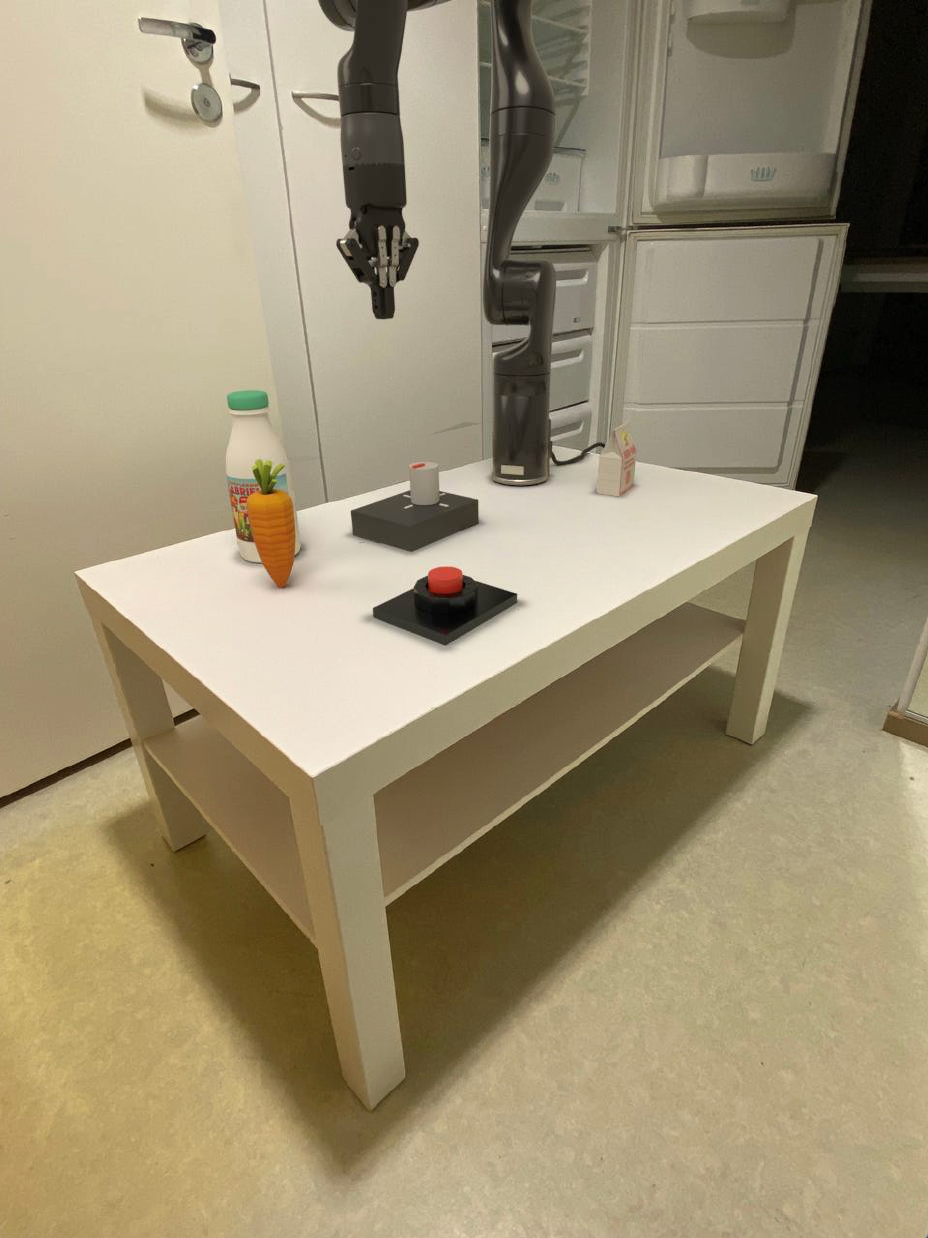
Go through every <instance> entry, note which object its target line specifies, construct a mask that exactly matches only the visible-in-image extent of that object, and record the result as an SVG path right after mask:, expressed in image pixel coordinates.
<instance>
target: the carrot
mask: <svg viewBox="0 0 928 1238" xmlns="http://www.w3.org/2000/svg"><path fill="white" fill-rule="evenodd" d="M255 464H256V465H255V466H253V467H252V471H253V474H254V476H255V479H256V480H257V482H258V484H259V486H260V488H261V490H259V491H257V492H255V493H253V494H251V495H250V496H249V497H248V498H247V501H246V506H247V512H248V517H249V522H250V527H251V531H252V536H253V539H254V542H255V545H256V548H257V551H258V554H259V556H260V559H261V561H262V563H261V564H262V566H263V567H264V569H265V571H266V572H267V574H268V577H270V578H271V580H272V581H273V583H274V584H275V585H276V587H278V588H279V589H283V588H284V587H285V586H286V585H287V584H288V581H289V579H290V577H291V574H292V571H293V567H294V563H295V556H296V555H295V539H296V535H295V521H294V511H293V503H292V500H291V497H290V496H289V495H288V494H287V493H286V492H284V491H283V490H279V489H273V487H274V486H275V484H276V483H277V481H278V480H276V479H275V478H276V476H277V474H278V473H279V471H281V470H282V469H283V468H284V465H283V464H279V465H278V466H277V467H276V468H275V469H274V471H273V472H272V474H270V472H271V468H272V462H271V461H270V460H266V461H265V464H264V465H263V462H262V460H261V459H258V460H256V461H255Z"/></svg>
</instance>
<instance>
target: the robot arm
mask: <svg viewBox="0 0 928 1238" xmlns="http://www.w3.org/2000/svg"><path fill="white" fill-rule="evenodd" d="M451 1H452V0H317V2H318V5H319V7H320V10H321V12H322V14H323V15H324V16H325V17H326V19H327V20H328V21H329V22H330V23H331V24H332V25H333V26H334V27H336V28H337V29H339V30H342V31H345V32H350V33H351V32H353V39H352V43H351V46H350V48H349V49H348V50H347V51H346V52H345V53H344V54H343V55H342V57H341V58H340V59H339V61H338V64H337V69H336V78H337V79H336V80H337V81H336V82H337V93H338V104H339V115H340V137H339V138H340V150H341V151H340V152H341V164H342V166H341V167H342V178H343V188H344V200H345V207H347V209H349V210H350V217H349V221H348V229H349V230H348V231H347V233H346V235H345V236H344V237H342V238H337V239H336V242H335V245H336V248H337V250H338V251H339V253H340V255H341V256H342V258H343V259H344V261H345V263H346V265H347V266H348V268H349V269H350V271H351V272H352V275H354V277H355V279H356V280H357V282H358V283H360V284H362V283H363V284H365V285H367V286H368V288H370V296H371V298H370V299H371V311H372V313H373V316H374V318H375V319H376V320H391V319H394V318H395V313H396V312H395V311H396V301H395V299H396V298H395V287H396V285H397V284H398V283H399V282H402V281H404V280H405V279H406V277H407V275H408V272H409V270H410V267H411V265H412V263H413V261H414V258H415V255H416V253H417V250H418V248H419V246H420V241H419V239H418V238H417V237H412V236H410V234H409V233H408V232H407V231H406V222H405V218H404V216H403V209H404V208H405V207H406V206H407V205H408V201H407V181H406V180H407V177H406V163H405V162H406V159H405V144H404V134H403V129H402V121H401V107H400V103H401V102H400V89H399V88H400V87H399V69H400V62H401V58H402V53H403V43H404V37H405V30H406V22H407V16H408V15H407V14H408V13H409V12H414V11H416V12H417V11H422V10H426V9H429V8H432V7H435V6H439V5H442V4H445V3H449V2H451ZM489 4H490V5H489V6H490V24H491V25H490V27H491V28H490V29H491V84H490V85H491V87H490V89H491V90H490V109H489V134H488V135H489V139H488V153H489V154H488V155H489V156H488V157H489V159H488V160H489V165H488V166H489V169H488V172H489V175H488V178H489V179H488V211H487V212H488V213H487V226H486V240H485V249H484V261H483V273H482V287H481V288H482V289H481V291H482V292H481V293H482V294H481V299H482V301H481V302H482V310H483V311H482V312H483V315H484V318H485V321H486V322H487V323H488V324H489V325H491V326H495V327H529V331H528V335H527V337H526V338H525V339H523V340H521V342H520V343H518V344H516V345H514V346H511V347H509V348H506V349H503V350H500V351H498V352H496V353H494V354H493V357H492V471H491V479H492V481H494V482H496V483H498V484H501V485H506V486H507V485H508V486H533V485H537V484H542V483H543V482H546V481H547V480H548V476H550V460H551V461H552V462H553V464H555V465H556V466H557V465H558V466H566V465H570V464H573V463H575V462H578V461H581V460H582V459H583V458H584V457H585V455H586V454H587V453H589V452H591V451H592V450H594V449H595V448H598V447H601V448H602V449H604V447H605V445H606V443H604V442H601V441H600V442H599V441H598V442H595V443H593V444H591V445H590V446H588V447H586V448H585V449H584V450H582V451H581V452H580V454H579V455H577V456H575V457H572V458H569V459H567V460H557V457H556V455H555V453H554V451H553V443H554V442H553V440H551V436H552V420H551V418H550V406H551V405H550V403H551V402H550V400H551V375H552V374H551V372H552V354H553V352H552V351H553V333H554V322H555V321H554V319H555V310H556V309H555V308H556V301H557V300H556V299H557V298H556V297H557V296H556V295H557V274H556V269H555V266H554V264H553V262H552V261H551V260H549V259H545V258H519V259H516V258H515V259H510V256H511V250H512V245H513V241H514V236H515V233H516V231H517V227H518V224H519V222H520V220H521V218H522V216H523V213H524V211H525V209H526V208H527V206H528V204H530V201H531V200H532V198H533V196H534V195H535V193H536V191H537V190H538V188H539V187H540V185H541V183H542V181H543V180H544V178H545V176H546V173H547V172H548V170H549V167H550V165H551V163H552V160H553V156H554V151H555V150H554V149H555V132H556V131H555V129H556V110H557V109H556V108H557V107H556V97H555V92H554V89H553V85H552V83H551V81H550V78H549V75H548V73H547V71H546V68H545V66H544V64H543V62H542V60H541V58H540V56H539V52H538V51H537V48H536V44H535V40H534V36H533V0H489Z"/></svg>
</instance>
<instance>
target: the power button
mask: <svg viewBox="0 0 928 1238" xmlns="http://www.w3.org/2000/svg"><path fill="white" fill-rule="evenodd" d="M463 575H464V573H463V571H462V569H460V568H458V567H455V566H437V567H434V568H432V569H430V570H429V571H428V572H427V576H428V586H429V591H432V592H435V593H443V594H449V593H455V592H459V591H461V590H462V589H463Z"/></svg>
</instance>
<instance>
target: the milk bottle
mask: <svg viewBox="0 0 928 1238" xmlns="http://www.w3.org/2000/svg"><path fill="white" fill-rule="evenodd" d="M226 401H227V407H228V409H229V412H228V413H229V414H230V415H231V419H232V425H231V432H230V433H231V434H230V437H229V441H228V445H227V448H226V453H225V474H226V480H227V481H226V482H227V488H228V496H229V500H230V501H229V502H230V506H231V513H232V519H233V524H234V529H235V537H236V541H237V547H238V552H239V555H240V556H241V557H242V559H244V560H246V561H247V562H251V563H260V564H262V561H261V559H260V556H259V554H258V551H257V548H256V545H255V542H254V539H253V536H252V531H251V527H250V522H249V517H248V512H247V506H246V501H247V498H248V497H249V496H250V495H251V494H253V493H255V492H257V491H259V490H261V488H260V486H259V484H258V482H257V480H256V479H255V476H254V474H253V471H252V467H253V466H255V465H256V464H255V461H256V460H258V459H261V460H262V462H263V465H264V464H265V461H266V460H270V461H271V462H272V468H271V472H270V474H272V472H273V471H274V469H275V468H276V467H277V466H278V465H279V464H283V465H284V468H283V469H282V470H281V471H279V473H278V474H277V476H276V478H275V479H276V480H278V481H277V483H276V484H275V486H274V487H273V489H279V490H283V491H284V492H286V493H287V494H288V495H289V496H290V497H291V500H292V503H293V511H294V521H295V535H296V539H295V555H294V556H296V555H297V554H299V552H300V551H301V536H300V535H301V534H300V527H299V520H298V513H297V504H296V498H295V491H294V484H293V483H294V482H293V476H292V471H291V466H290V461H289V457H288V454H287V451H286V449H285V447H284V445H283V443H282V441H281V440H280V439H279V437H278V435H277V433H276V431H275V429H274V428H273V426H272V423H271V421H270V417H269V411H270V409H271V408H270V407H269V396H268V393H267V392H266V391H264V390H258V389H257V390H255V389H254V390H253V389H252V390H251V389H249V390H239V391H233V392H230V393H228V394H227V395H226Z"/></svg>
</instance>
